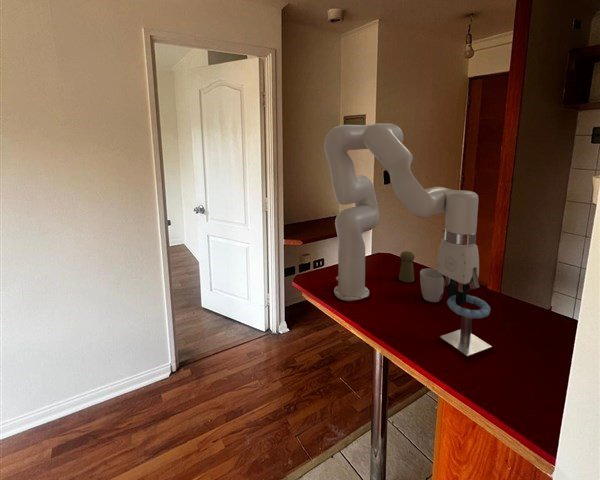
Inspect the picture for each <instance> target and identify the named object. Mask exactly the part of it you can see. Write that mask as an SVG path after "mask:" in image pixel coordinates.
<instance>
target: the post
mask: <svg viewBox="0 0 600 480" xmlns="http://www.w3.org/2000/svg"><path fill="white" fill-rule="evenodd" d="M460 317H461V318H460V319H461V320H460V329H457V330H455V331H451V332H449V333H445V334H442V335H440V336H439V339H441V340H443V341H444V342H446V343H447V344H449V346H451V347H452V348H454V349H456V350H457V351H458V352H460V354H462V355H464V356H465V357H466V358H468V357H471V356H474V355H476V354H479V353H481V352H484V351H487V350H490V349H492V348H493V346H492V345H490V344H489V343H487V342H486V341H484V340H482V339H481V338H479V337H478V336H476V335H475V334H473V333H472V331H473V330H472V329H473V318H468V317H464V316H461V315H460Z"/></svg>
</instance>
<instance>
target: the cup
mask: <svg viewBox="0 0 600 480" xmlns="http://www.w3.org/2000/svg"><path fill="white" fill-rule="evenodd" d="M419 282H420V290H421V295H422V298H423V299H424V300H425V301H426V302H430V303H439V302H440V301H441V300H442V298H443V294H444V290H445V286H446V284H445V280H444V278H443V275H441V274H440V273H439V272H438V270H437V268H432V267H430V268H429V267H428V268H426V267H425V268H421V270H420V271H419Z"/></svg>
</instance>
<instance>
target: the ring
mask: <svg viewBox="0 0 600 480" xmlns="http://www.w3.org/2000/svg"><path fill="white" fill-rule="evenodd" d="M466 303H468V304H472V305H475V306H477V307H479V309H470V308H466V307H462V306H461V305H459V306H458V305H457V304H456V295H454V296H450V297H449V299H448V300H447V301H446V305H447V307H448V308H449V309H450V310H451V311H452V312H453V313H455V314H457V315H458V316H460V317H461V316H464V317H468V318H472V319H477V320H478V319H483V318H486V317H489V315H490V314H491V310H492V309H491V306H490V305H489V304H488V303H487V301H486V300H483V299H481V298H479V297H477V296H475V295H471V294H467V297H466Z"/></svg>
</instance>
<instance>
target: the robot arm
mask: <svg viewBox="0 0 600 480" xmlns="http://www.w3.org/2000/svg"><path fill="white" fill-rule="evenodd" d="M403 142H404V133H403V130H402V129H401V128H400V127H399V126H398V125H397V124H394V123H385V122H384V123H383V122H381V123H380V122H379V123H378V122H377V123H373V124H341V125H337V126H335V127H332V128H331V129H330V130H329V131H328V133H327V134H326V136H325V139H324V144H323V149H324V154H325V158H326V161H327V164H328V168H329V174H330V177H331V178H330V180H331V185H332V189H333V195H334V198H335V200H336V202H337V203H338V204H339V205H344V206H345V205H352V204H354V206H352V207H347V208H344V209H343V210H341V211H340V212H339V213H337V215H336V217H335V221H334V225H335V231H336V235H337V236H336V237H337V261H338V262H337V266H338V267H337V272H338V273H337V276H336V277H335V280H336V281H337V285H336V286H335V287H334V289H333V294H334V296H335V298H337V299H339V300H341V301H345V302H353V301H357V300H362V299H365V298H368V297H369V296H370V289H368V287H366V243H365V241H364V238H363V236H362V235H363V233H366V232H369V231H372V230H374V229H375V228H376V227H377V226H378V224H379V222H380V210H379V204H378V200H377V199H378V198H377V195H376V189H375V186H374V183H373V182H372V180H371V179H370V178H369V177H367V176H366V175H363V174H362V175H361V174H359V175H357V174H356V171H355V163H354V161H353V160H352V158H351V156H350V155H349V154H348V151H358V150H369V151H370V152H371V154H372V155H373V156H374V157H375V159H376V160H377V161H378V162H379V163H380V164H381V166H383V168H384V169H385V170H386V171H387V172H388V174H389V180H390V183H391V187H392V190H393V192H394V194H395V196H396V197H397V198H398V200H399V201H400V202H401V204H402V205H403V206H404V207H405V208H406V210H408V212H409V213H411V214H412V215H413V216H415V217H417V218H420V219H428V218H430V217H434V216H436V215H440V214H445V218H444V221H445V222H444V228H442V233H443V234H444V237H443V238H441V241H440V244H439V247H438V253H437V262H436V263H437V264H436V269H437V270H438V272H439V273H440V274H441V275H443V278H444V280H445V286H446V300H447V301H448V299H449V297H450V296H454V295H456V304H457V305H458V306H462V305H465V304H466V303H467V302H466V297H467V295H468V291H470V290H477V289H479V288H480V283H479V276H480V255H479V248H478V245H477V244H476V243H477V227H478V212H479V195H478V193H476V192H475V191H471V190H466V189H465V190H464V189H463V190H462V189H451V188H448V187H444V186H431V187H427V188H425V187H423V186H422V185H421V184H420V182H419V181H418V180H417V179H416V177H415V176H414V174H413V172H412V169H411V164H412V163H413V161H414V156H413V154H412V152H411V151H410V150H409V149H408V148H407V147H406V146H405V145H404V144H403ZM456 283H458V284H456Z"/></svg>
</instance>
